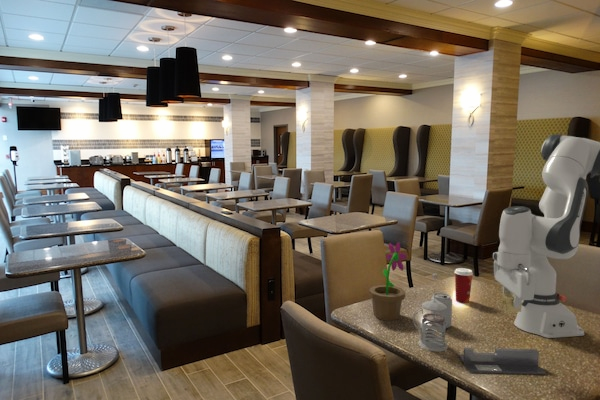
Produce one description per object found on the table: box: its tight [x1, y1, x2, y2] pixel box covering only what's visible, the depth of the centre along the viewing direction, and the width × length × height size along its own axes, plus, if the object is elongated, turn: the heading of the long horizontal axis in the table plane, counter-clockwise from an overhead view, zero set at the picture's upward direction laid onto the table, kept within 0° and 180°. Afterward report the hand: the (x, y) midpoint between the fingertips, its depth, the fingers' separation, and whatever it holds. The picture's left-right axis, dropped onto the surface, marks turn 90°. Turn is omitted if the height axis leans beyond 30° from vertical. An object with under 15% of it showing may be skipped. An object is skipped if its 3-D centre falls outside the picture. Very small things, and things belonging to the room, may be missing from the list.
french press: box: [412, 273, 449, 352], centre depth 140 cm, size 10×12×25 cm
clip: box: [501, 291, 522, 313], centre depth 127 cm, size 4×5×4 cm
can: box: [430, 292, 453, 329], centre depth 156 cm, size 8×8×12 cm
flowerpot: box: [368, 241, 407, 321], centre depth 165 cm, size 14×14×30 cm
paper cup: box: [453, 267, 474, 304], centre depth 182 cm, size 8×8×14 cm
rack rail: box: [458, 347, 546, 375], centre depth 127 cm, size 22×10×5 cm, turn 87°
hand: (511, 303), depth 127 cm, fingers closed on clip, 5 cm apart
